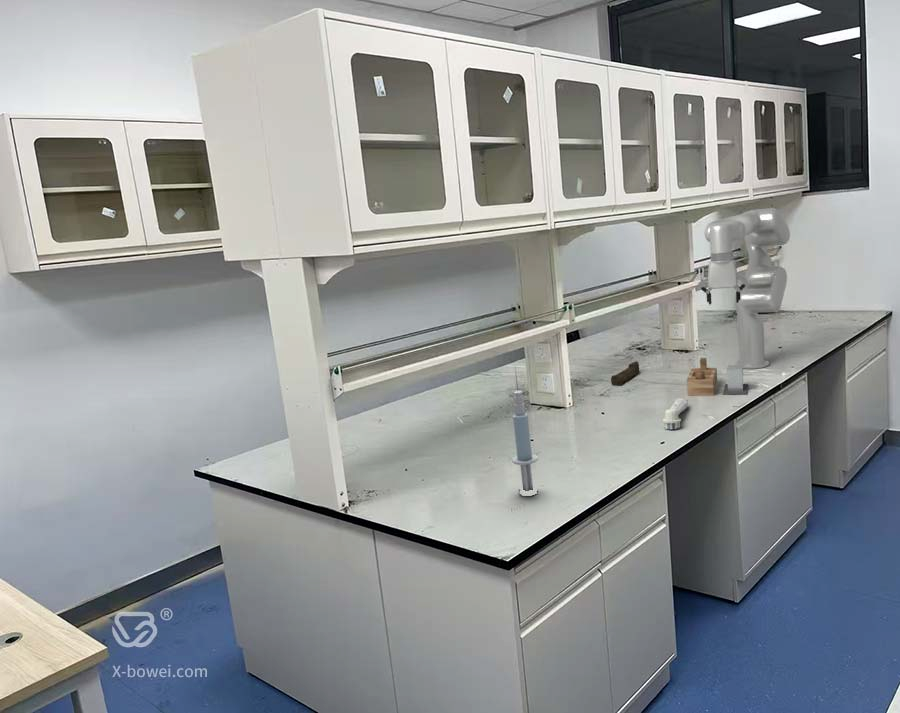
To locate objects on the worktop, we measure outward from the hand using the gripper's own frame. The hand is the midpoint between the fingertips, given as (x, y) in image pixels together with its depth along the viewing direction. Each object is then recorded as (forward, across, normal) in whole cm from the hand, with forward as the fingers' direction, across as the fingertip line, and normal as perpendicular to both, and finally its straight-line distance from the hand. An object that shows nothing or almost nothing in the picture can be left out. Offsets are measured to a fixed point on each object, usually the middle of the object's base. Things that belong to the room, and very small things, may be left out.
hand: (723, 303), depth 266 cm
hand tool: (+31, +40, -6) cm, 50 cm away
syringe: (+31, +43, +114) cm, 126 cm away
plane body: (+30, +8, +11) cm, 33 cm away
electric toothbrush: (+31, +13, +47) cm, 58 cm away
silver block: (+30, -4, +12) cm, 32 cm away
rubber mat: (+30, -4, +12) cm, 33 cm away
